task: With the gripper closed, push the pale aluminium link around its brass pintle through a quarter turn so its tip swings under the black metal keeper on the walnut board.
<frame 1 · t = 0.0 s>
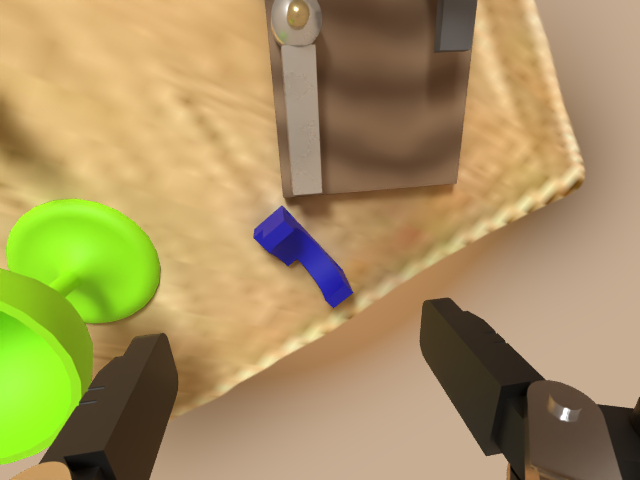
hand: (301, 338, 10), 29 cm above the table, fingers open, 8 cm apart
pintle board: (370, 83, 35), on the table
link: (301, 102, 31), point 4 cm above the table, hinge at 0.0°
cable clip: (300, 249, 41), on the table
wineglass: (88, 264, 38), on the table
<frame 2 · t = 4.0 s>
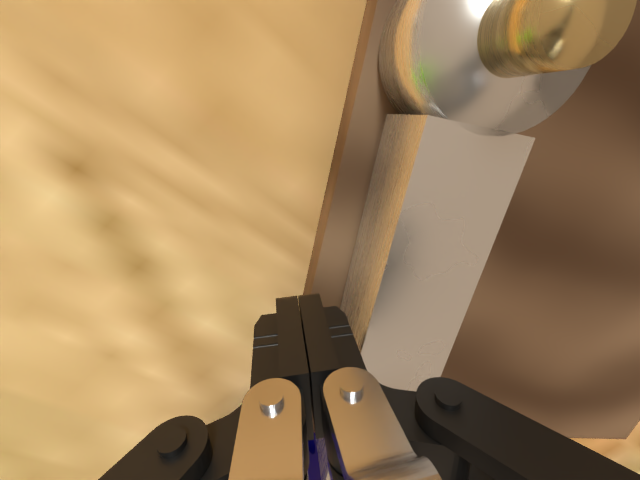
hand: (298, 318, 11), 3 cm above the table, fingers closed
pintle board: (547, 226, 15), on the table
link: (418, 281, 10), point 4 cm above the table, hinge at 1.5°, touching gripper
cable clip: (309, 477, 20), on the table
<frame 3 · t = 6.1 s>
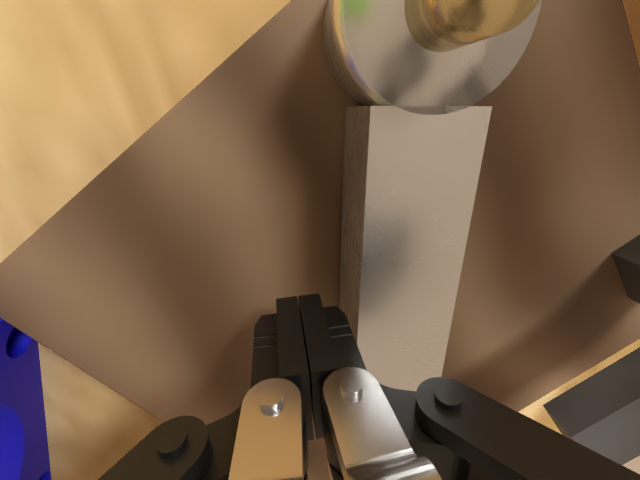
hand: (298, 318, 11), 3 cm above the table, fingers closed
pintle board: (384, 281, 15), on the table
link: (403, 270, 10), point 4 cm above the table, hinge at 52.6°, touching gripper
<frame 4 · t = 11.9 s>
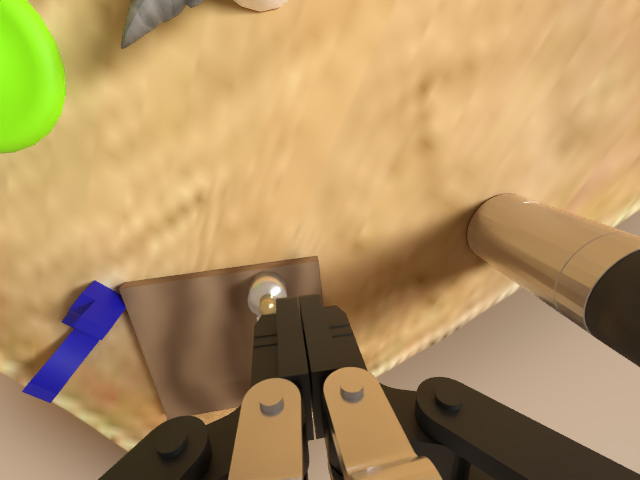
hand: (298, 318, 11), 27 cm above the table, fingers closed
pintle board: (239, 338, 43), on the table
link: (274, 344, 39), point 4 cm above the table, hinge at 88.4°
cable clip: (88, 322, 40), on the table
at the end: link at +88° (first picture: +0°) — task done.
